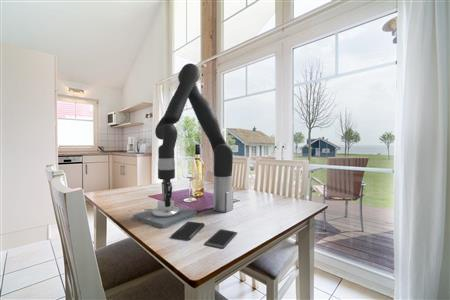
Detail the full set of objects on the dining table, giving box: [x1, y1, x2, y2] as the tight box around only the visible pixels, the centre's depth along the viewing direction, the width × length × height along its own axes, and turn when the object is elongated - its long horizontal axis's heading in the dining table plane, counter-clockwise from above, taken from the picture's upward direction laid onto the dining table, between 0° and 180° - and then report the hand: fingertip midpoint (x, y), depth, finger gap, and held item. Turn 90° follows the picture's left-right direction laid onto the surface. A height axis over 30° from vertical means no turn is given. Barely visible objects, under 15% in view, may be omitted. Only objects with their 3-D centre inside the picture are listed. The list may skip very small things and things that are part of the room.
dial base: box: [132, 205, 198, 229], centre depth 100 cm, size 20×20×2 cm
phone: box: [170, 221, 206, 242], centre depth 84 cm, size 8×1×15 cm
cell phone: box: [203, 228, 238, 250], centre depth 78 cm, size 7×14×1 cm, turn 157°
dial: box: [144, 199, 179, 218], centre depth 100 cm, size 16×12×6 cm
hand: (166, 205), depth 100 cm, fingers closed on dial, 3 cm apart
